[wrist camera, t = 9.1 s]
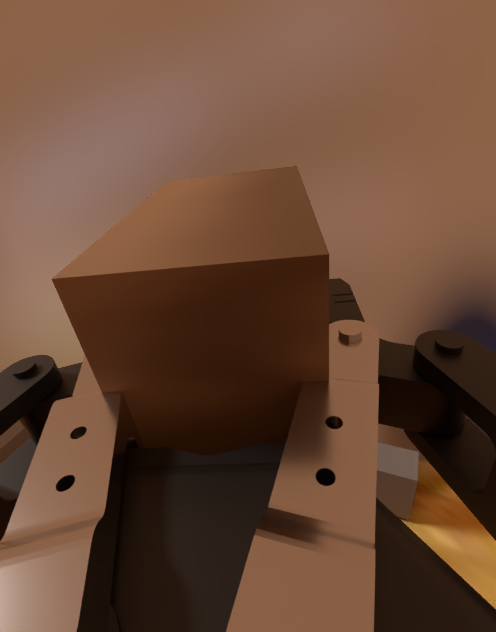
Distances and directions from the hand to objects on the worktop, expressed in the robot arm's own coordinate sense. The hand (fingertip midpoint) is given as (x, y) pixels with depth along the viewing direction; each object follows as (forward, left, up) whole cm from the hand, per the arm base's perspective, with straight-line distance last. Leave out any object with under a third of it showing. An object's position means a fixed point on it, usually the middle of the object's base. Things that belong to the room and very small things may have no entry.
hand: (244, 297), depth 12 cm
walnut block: (+1, -3, -6) cm, 7 cm away
